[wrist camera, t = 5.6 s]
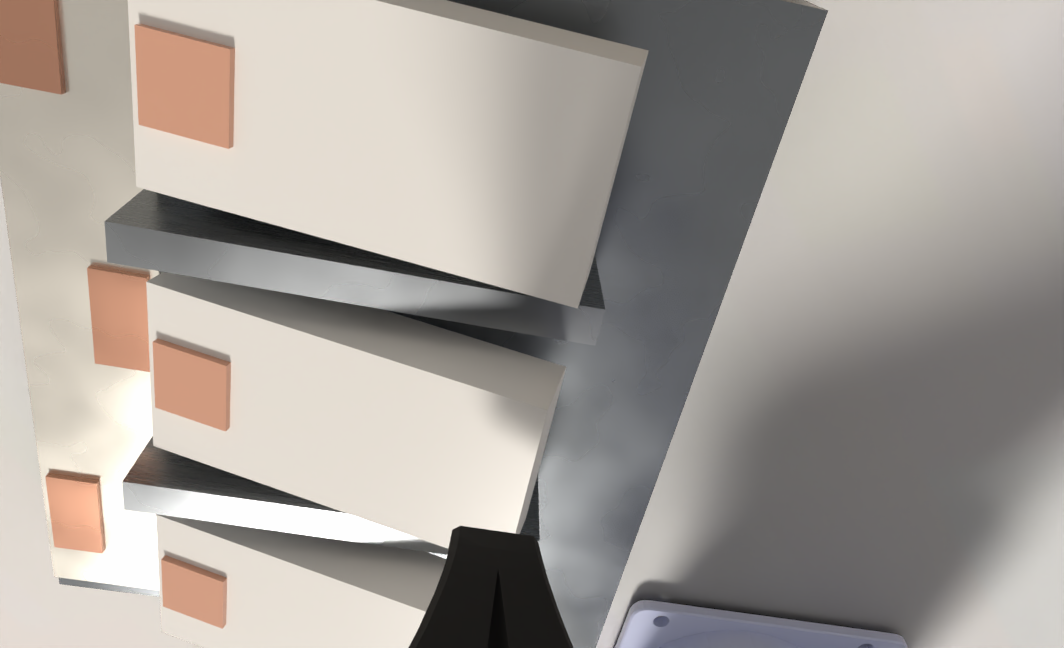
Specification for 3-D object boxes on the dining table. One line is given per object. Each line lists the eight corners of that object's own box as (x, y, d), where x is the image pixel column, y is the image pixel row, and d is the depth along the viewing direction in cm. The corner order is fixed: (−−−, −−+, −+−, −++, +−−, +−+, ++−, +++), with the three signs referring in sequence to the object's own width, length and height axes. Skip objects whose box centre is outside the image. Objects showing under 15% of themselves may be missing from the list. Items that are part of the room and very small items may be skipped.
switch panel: (787, -8, 17) (879, 33, 12) (587, 585, 25) (600, 729, 21) (41, -177, 15) (-151, -197, 11) (102, 518, 24) (9, 660, 19)
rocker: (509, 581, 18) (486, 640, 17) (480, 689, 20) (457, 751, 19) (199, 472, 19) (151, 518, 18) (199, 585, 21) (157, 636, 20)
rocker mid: (566, 366, 15) (545, 415, 14) (526, 517, 17) (504, 574, 16) (197, 252, 16) (140, 285, 15) (198, 406, 18) (148, 449, 17)
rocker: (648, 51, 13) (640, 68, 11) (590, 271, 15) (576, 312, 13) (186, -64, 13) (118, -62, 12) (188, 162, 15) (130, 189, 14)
